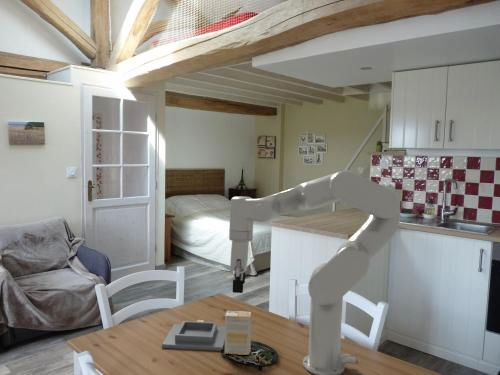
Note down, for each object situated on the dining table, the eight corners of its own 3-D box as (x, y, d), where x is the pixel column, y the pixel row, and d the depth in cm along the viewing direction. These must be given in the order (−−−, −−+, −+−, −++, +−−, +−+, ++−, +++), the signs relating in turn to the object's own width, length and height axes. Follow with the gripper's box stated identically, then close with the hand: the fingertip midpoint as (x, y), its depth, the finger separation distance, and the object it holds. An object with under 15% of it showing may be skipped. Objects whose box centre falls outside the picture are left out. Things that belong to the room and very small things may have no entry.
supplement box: (250, 350, 132) (252, 311, 132) (249, 357, 128) (250, 316, 127) (226, 348, 133) (227, 309, 132) (223, 355, 128) (224, 315, 128)
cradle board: (227, 329, 148) (227, 320, 148) (222, 351, 131) (222, 340, 131) (174, 327, 149) (174, 317, 149) (161, 347, 132) (162, 337, 132)
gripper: (231, 230, 137) (229, 279, 138) (226, 239, 120) (224, 295, 121) (253, 231, 137) (251, 280, 138) (251, 240, 120) (249, 297, 121)
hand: (238, 287), depth 129 cm, fingers open, 9 cm apart
